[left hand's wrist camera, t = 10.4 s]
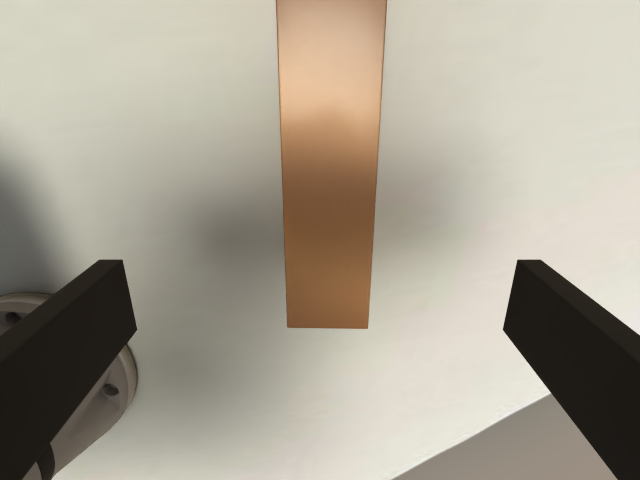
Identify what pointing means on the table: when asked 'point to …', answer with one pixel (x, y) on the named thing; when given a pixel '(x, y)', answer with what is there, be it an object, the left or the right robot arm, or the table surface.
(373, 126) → the bar
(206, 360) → the table surface
